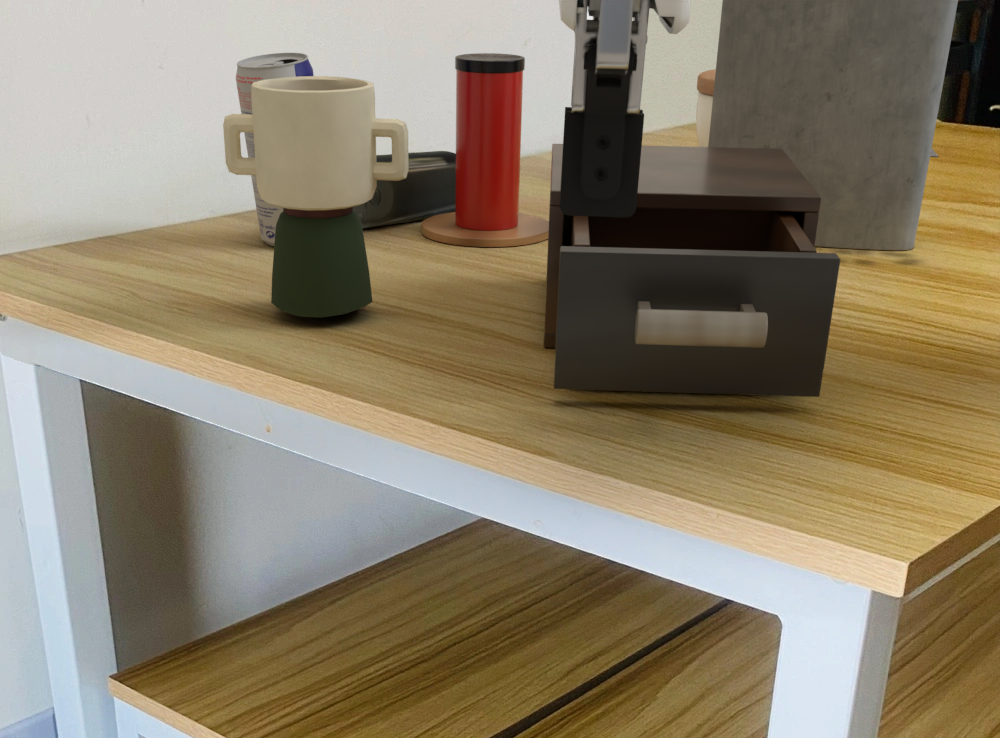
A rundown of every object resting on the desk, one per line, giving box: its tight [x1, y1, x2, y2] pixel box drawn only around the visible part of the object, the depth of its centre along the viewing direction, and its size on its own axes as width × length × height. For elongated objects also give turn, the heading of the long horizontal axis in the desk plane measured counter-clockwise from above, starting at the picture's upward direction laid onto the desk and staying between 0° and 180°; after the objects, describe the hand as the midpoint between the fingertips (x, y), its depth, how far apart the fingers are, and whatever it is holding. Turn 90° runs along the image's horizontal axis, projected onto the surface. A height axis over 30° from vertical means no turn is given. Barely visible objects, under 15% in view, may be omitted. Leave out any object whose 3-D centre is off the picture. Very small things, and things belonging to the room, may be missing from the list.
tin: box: [454, 52, 526, 231], centre depth 101 cm, size 5×5×12 cm
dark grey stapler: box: [353, 150, 456, 230], centre depth 105 cm, size 5×3×15 cm
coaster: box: [420, 212, 549, 248], centre depth 104 cm, size 10×10×1 cm
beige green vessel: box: [222, 75, 409, 319], centre depth 81 cm, size 11×7×13 cm, turn 82°
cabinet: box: [543, 143, 821, 349], centre depth 83 cm, size 16×15×9 cm
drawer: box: [553, 208, 841, 398], centre depth 72 cm, size 19×13×7 cm
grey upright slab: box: [708, 0, 959, 251], centre depth 98 cm, size 16×4×20 cm, turn 72°
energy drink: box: [235, 52, 315, 247], centre depth 97 cm, size 5×5×12 cm
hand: (596, 211), depth 58 cm, fingers closed
